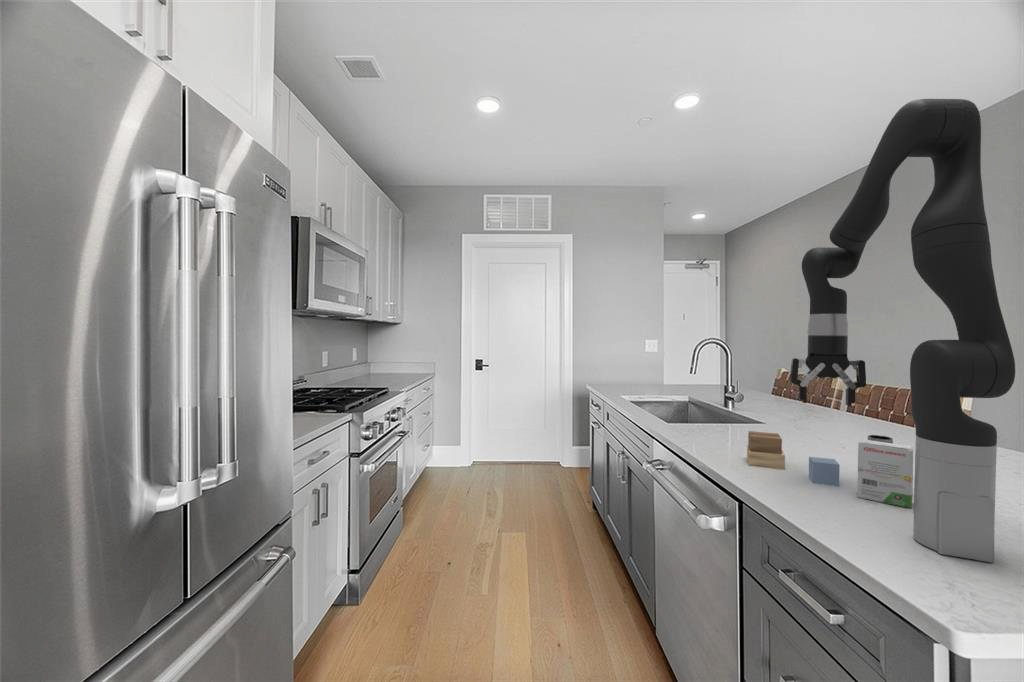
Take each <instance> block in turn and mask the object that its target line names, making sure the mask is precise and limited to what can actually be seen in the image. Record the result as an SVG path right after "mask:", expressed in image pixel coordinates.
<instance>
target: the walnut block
mask: <svg viewBox="0 0 1024 682" xmlns="http://www.w3.org/2000/svg"><path fill="white" fill-rule="evenodd" d="M747 438H748V439H747V440H748V441H747V443H748V444H747V445H748V446H749V449H750V451H751V452H761V453H771V454H780V455H782V451H783V448H782V447H783V439H782V437H781V436H780V434H779V433H778V432H767V431H766V432H765V431H756V430H754V431H753V430H748V437H747Z"/></svg>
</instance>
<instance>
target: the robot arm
mask: <svg viewBox="0 0 1024 682" xmlns="http://www.w3.org/2000/svg"><path fill="white" fill-rule="evenodd" d="M981 120H982V119H981V115H980V111H979V108H978V107H977V105H976V104H975V103H974V102H972V101H971V100H969V99H963V98H919V99H914V100H911V101H909V102H906V104H904V105H903V106H902V107H900V108H899V109H898V111H897V112H896V113H895V114H894V116H893V117H892V118H891V119H890V121H889V123H888V125H887V126H886V129H885V130H884V132H883V134H882V135H881V137H880V139H879V142H878V144H877V147H876V149H875V150H874V153H873V155H872V156H871V159H870V161H869V163H868V166H867V168H866V170H865V172H864V174H863V177H862V179H861V181H860V183H859V185H858V187H857V189H856V191H855V194H854V195H853V197H852V199H851V200H850V202H849V203H848V205H847V207H845V209H844V211H843V212H842V214H841V215H840V216H839V218H838V220H837V221H836V222H835V224H834V226H833V227H832V229H831V230H830V233H829V240H830V242H831V244H833V245H835V246H836V247H812V248H809V250H808V251H806V252H805V254H804V256H803V258H802V261H801V271H802V272H801V273H802V275H803V278H804V279H803V280H804V281H805V284H806V285H805V286H806V289H807V292H808V295H809V317H808V326H807V327H808V328H807V332H806V333H807V356H806V358H805V359H802V358H797V357H793V358H792V359H791V362H790V363H791V364H790V372H789V373H790V375H789V382H790V383H792V384H794V385H796V386H797V387H798V399H799V400H800V401H801V403H803V404H807V402H808V401H807V400H808V395H807V394H808V387H807V385H808V384H809V383H810V382H811V381H813V380H814V379H815V377H817V378H821V379H823V378H824V379H825V378H829V379H836V378H837V379H839V380H841V381H842V383H843V384H844V385H845V386H846V387H847V388H845V405H846V406H848V407H851V406H852V404H855V402H856V390H858V389H860V388H865V387H866V386H867V374H866V373H867V372H866V362H865V360H861V359H857V360H849V358H848V341H849V339H848V338H849V337H848V335H849V323H848V314H847V313H848V294H847V291H846V290H845V289H842V288H838V287H834V286H832V285H831V284H830V282H829V280H828V279H844V278H847V277H848V276H850V275H852V274H853V273H854V272H855V271H856V270H857V268H858V266H859V264H860V261H861V258H862V256H863V255H862V254H863V252H864V250H865V247H866V244H867V242H868V241H869V240H870V239H871V238H872V236H873V235H874V233H875V232H876V231H877V230H878V228H879V227H880V226H881V225H882V223H884V220H885V218H886V216H887V214H888V211H889V208H890V187H891V182H892V178H893V176H894V174H895V172H896V171H897V170H898V168H899V167H900V166H901V165H902V164H903V162H904V161H906V160H907V158H930V159H931V161H932V165H933V173H934V182H933V188H932V191H931V193H930V195H929V197H928V198H927V200H926V202H925V203H924V205H922V207H921V209H920V210H919V212H918V214H917V215H916V218H915V219H914V221H913V223H912V226H911V228H910V244H911V253H912V259H913V266H914V268H915V270H916V272H917V274H918V275H919V276H920V278H921V279H922V280H923V282H924V283H925V284H926V285H927V286H928V287H929V289H930V290H931V291H932V292H933V293H934V294H935V295H936V296H937V297H938V298H939V299H940V300H941V302H943V304H944V305H945V306H946V308H947V309H948V310H949V312H950V314H951V316H952V318H953V320H954V324H955V327H956V332H957V337H958V339H931V340H930V339H929V340H926V341H923V342H921V343H920V344H919V345H917V347H916V348H915V349H914V350H913V352H912V355H911V357H910V358H911V359H910V364H909V365H910V367H909V381H910V384H909V385H910V398H911V399H910V400H911V401H910V402H911V404H910V405H911V407H910V409H911V416H912V419H913V423H914V425H915V426H914V427H915V446H914V450H915V452H914V453H915V454H914V481H913V530H912V532H913V535H912V536H913V540H915V541H916V542H918V543H920V545H923V546H925V547H927V548H929V549H932V550H934V551H936V552H937V553H938V554H940V555H945V556H952V557H957V558H964V559H969V560H975V561H981V562H988V563H993V562H994V557H995V534H996V533H995V525H996V524H995V523H996V521H995V520H996V516H995V515H996V490H997V489H996V488H997V486H996V485H997V484H996V483H997V481H996V480H997V451H998V449H997V447H998V446H997V445H998V431H997V429H996V427H995V426H993V425H992V424H990V423H988V422H985V421H981V420H979V419H976V418H974V417H971V416H970V415H968V414H967V413H965V412H964V411H963V407H962V403H961V398H966V399H969V398H970V399H972V398H973V399H995V398H1000V397H1002V396H1004V395H1006V394H1007V393H1008V392H1009V391H1010V390H1011V388H1012V387H1013V384H1014V383H1015V377H1016V361H1015V357H1014V352H1013V347H1012V344H1011V341H1010V337H1009V334H1008V330H1007V326H1006V323H1005V321H1004V316H1003V312H1002V310H1001V306H1000V301H999V297H998V291H997V286H996V280H995V274H994V269H993V261H992V250H991V249H992V248H991V247H992V246H991V238H990V232H989V225H988V221H987V215H986V210H985V204H984V203H985V202H984V194H983V191H984V190H983V181H982V168H981V165H982V163H981V159H982V158H981V157H982V155H981V153H982V149H981V147H982V122H981ZM804 364H805V366H806V367H807V368H808V369H809V370H808V371H807V372H806V373H805V375H804V376H803V377H802V378H801V379H798V377H799V369H801V368H802V367H803V365H804ZM850 366H851V367H852V369H853V370H854V371H855V375H856V377H855V378H856V381H853V380H852V379H851V378H850V376H849V375H848V374H847V373H846V372H845V371H846V370H847V369H849V367H850Z"/></svg>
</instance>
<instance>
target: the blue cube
mask: <svg viewBox="0 0 1024 682" xmlns="http://www.w3.org/2000/svg"><path fill="white" fill-rule="evenodd" d="M840 466H841V465H840V463H839V462H838V461H837V460H836V459H835V458H827V457H826V458H825V457H816V456H808V478H809V479H810V481H811V483H812V484H817V485H823V484H824V485H826V486H831V485H832V486H833V487H840V469H841V468H840Z"/></svg>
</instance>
